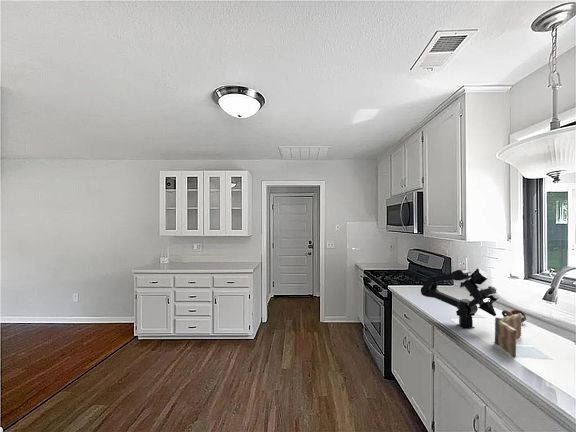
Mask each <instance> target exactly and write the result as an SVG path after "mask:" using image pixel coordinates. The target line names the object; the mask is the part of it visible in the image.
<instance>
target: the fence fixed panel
mask: <svg viewBox="0 0 576 432" xmlns="http://www.w3.org/2000/svg"><path fill="white" fill-rule="evenodd" d="M501 318H502V317H498V316H495V318H494V322H495V323H494V342H495V344H497V345H499V346H500V347H501V348H503V349H504V350H505V351H506V352H508V353H509V354H510V355H511V356H513V357H512V358H517V357H516V344H517V338H516V333H517V330H515V329H514V328H512V327H511V326H509V325H507V324H506V323H504V322H503V321H501ZM511 356H510V357H511Z"/></svg>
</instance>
